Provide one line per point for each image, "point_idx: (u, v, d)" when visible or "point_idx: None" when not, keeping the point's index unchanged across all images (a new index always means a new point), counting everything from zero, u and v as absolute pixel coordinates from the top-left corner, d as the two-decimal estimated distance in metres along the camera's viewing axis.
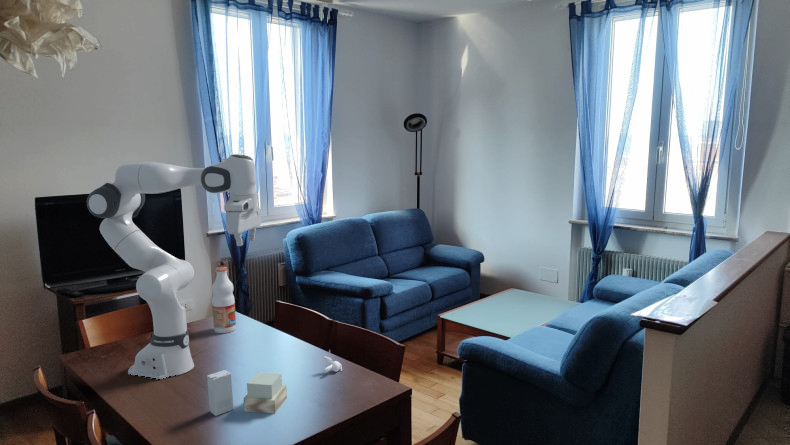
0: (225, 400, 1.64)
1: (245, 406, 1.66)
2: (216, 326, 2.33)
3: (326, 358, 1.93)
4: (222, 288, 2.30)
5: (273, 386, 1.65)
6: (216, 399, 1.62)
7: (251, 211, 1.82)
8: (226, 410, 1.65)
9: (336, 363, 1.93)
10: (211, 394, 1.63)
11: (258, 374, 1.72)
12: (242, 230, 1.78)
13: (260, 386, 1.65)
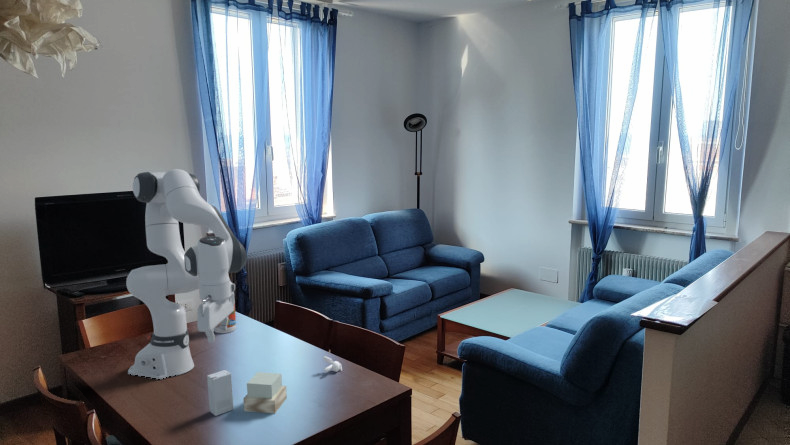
0: (225, 400, 1.64)
1: (245, 406, 1.66)
2: (216, 326, 2.33)
3: (326, 358, 1.93)
4: None
5: (272, 386, 1.65)
6: (216, 399, 1.62)
7: None
8: (226, 410, 1.65)
9: (336, 363, 1.93)
10: (211, 394, 1.63)
11: (258, 374, 1.72)
12: None
13: (260, 385, 1.65)
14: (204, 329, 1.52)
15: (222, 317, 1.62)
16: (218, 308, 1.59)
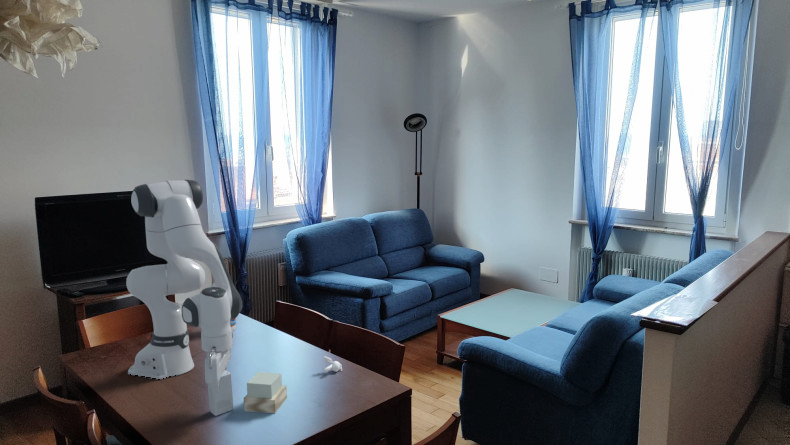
0: (225, 400, 1.64)
1: (245, 406, 1.66)
2: None
3: (326, 358, 1.93)
4: None
5: (272, 386, 1.65)
6: (216, 399, 1.62)
7: None
8: (226, 410, 1.65)
9: (336, 363, 1.93)
10: (211, 394, 1.63)
11: (258, 374, 1.72)
12: None
13: (260, 385, 1.65)
14: (212, 381, 1.54)
15: (224, 366, 1.64)
16: (221, 358, 1.61)
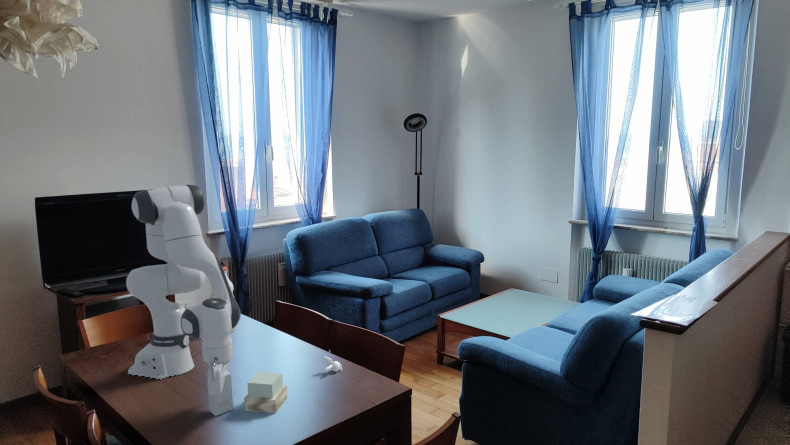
0: (225, 400, 1.64)
1: (246, 406, 1.66)
2: None
3: (326, 358, 1.93)
4: None
5: (273, 385, 1.66)
6: None
7: None
8: (226, 410, 1.65)
9: (336, 363, 1.93)
10: None
11: (259, 373, 1.72)
12: None
13: (261, 385, 1.65)
14: (215, 393, 1.55)
15: None
16: (222, 369, 1.62)
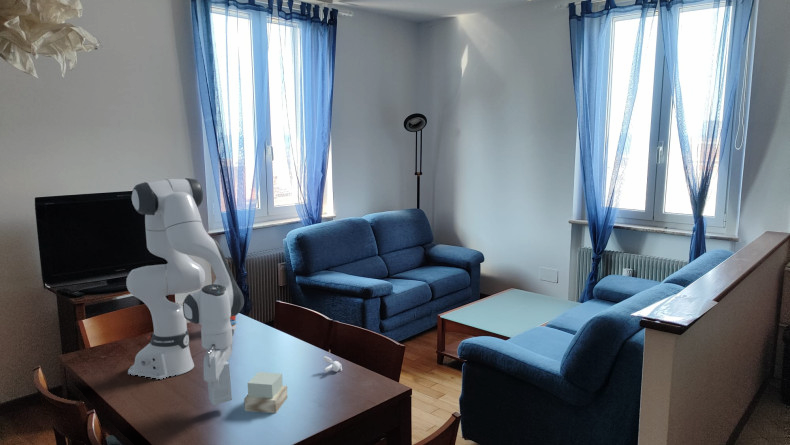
0: (223, 390, 1.64)
1: (246, 406, 1.66)
2: None
3: (326, 358, 1.93)
4: None
5: (273, 386, 1.66)
6: (213, 389, 1.62)
7: None
8: (224, 400, 1.64)
9: (336, 363, 1.93)
10: (209, 383, 1.63)
11: (259, 374, 1.72)
12: None
13: (261, 385, 1.65)
14: (211, 379, 1.54)
15: None
16: (221, 355, 1.62)
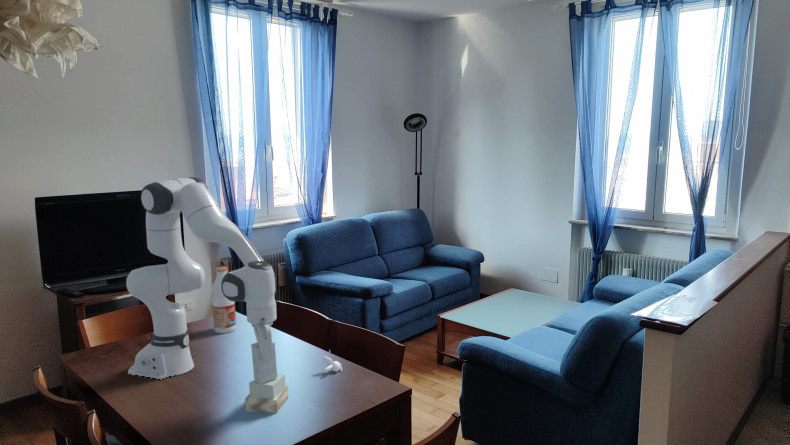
0: (269, 368, 1.66)
1: (247, 406, 1.66)
2: (216, 326, 2.33)
3: (326, 358, 1.93)
4: None
5: (274, 387, 1.65)
6: (261, 368, 1.64)
7: None
8: (270, 378, 1.67)
9: (336, 363, 1.93)
10: (256, 362, 1.65)
11: None
12: (255, 334, 1.72)
13: (262, 386, 1.65)
14: (267, 351, 1.58)
15: None
16: None
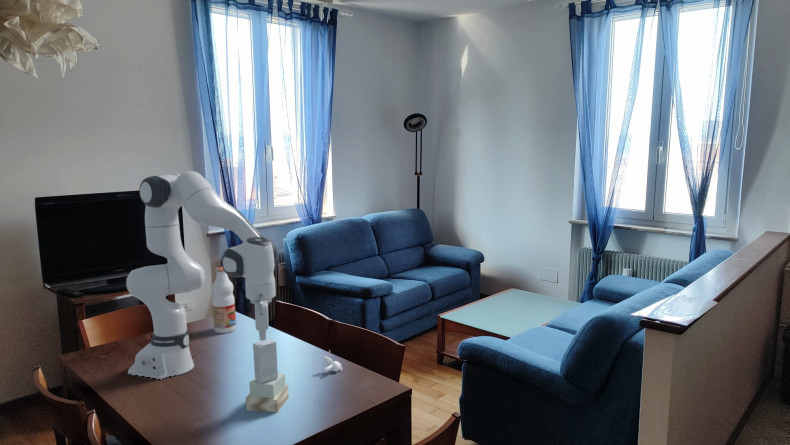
0: (270, 368, 1.66)
1: (247, 406, 1.66)
2: (216, 326, 2.33)
3: (326, 358, 1.93)
4: (222, 288, 2.30)
5: (274, 386, 1.65)
6: (261, 367, 1.64)
7: None
8: (271, 378, 1.67)
9: (336, 363, 1.93)
10: (256, 361, 1.65)
11: None
12: None
13: (262, 385, 1.65)
14: (263, 327, 1.56)
15: None
16: None
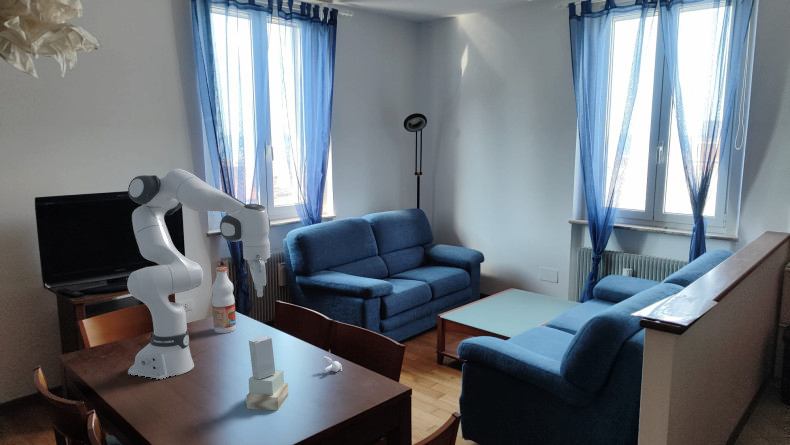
0: (267, 364, 1.69)
1: (248, 403, 1.67)
2: (216, 326, 2.33)
3: (326, 358, 1.93)
4: (222, 288, 2.30)
5: (273, 382, 1.68)
6: (258, 363, 1.67)
7: None
8: (268, 374, 1.69)
9: (336, 363, 1.93)
10: (253, 358, 1.67)
11: None
12: (251, 273, 1.88)
13: (261, 382, 1.67)
14: (261, 283, 1.73)
15: None
16: None
